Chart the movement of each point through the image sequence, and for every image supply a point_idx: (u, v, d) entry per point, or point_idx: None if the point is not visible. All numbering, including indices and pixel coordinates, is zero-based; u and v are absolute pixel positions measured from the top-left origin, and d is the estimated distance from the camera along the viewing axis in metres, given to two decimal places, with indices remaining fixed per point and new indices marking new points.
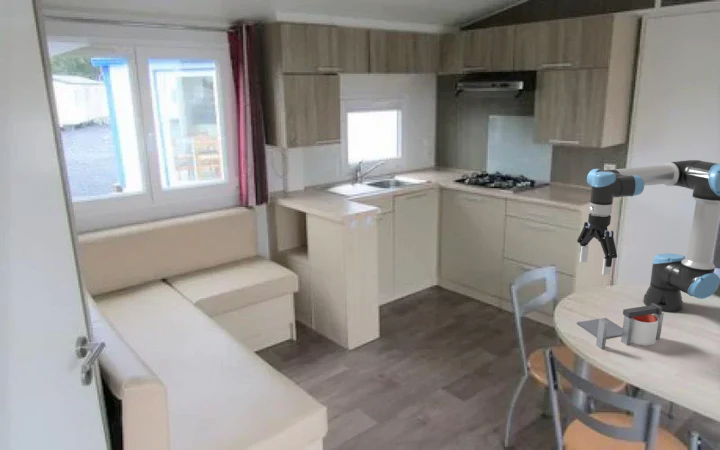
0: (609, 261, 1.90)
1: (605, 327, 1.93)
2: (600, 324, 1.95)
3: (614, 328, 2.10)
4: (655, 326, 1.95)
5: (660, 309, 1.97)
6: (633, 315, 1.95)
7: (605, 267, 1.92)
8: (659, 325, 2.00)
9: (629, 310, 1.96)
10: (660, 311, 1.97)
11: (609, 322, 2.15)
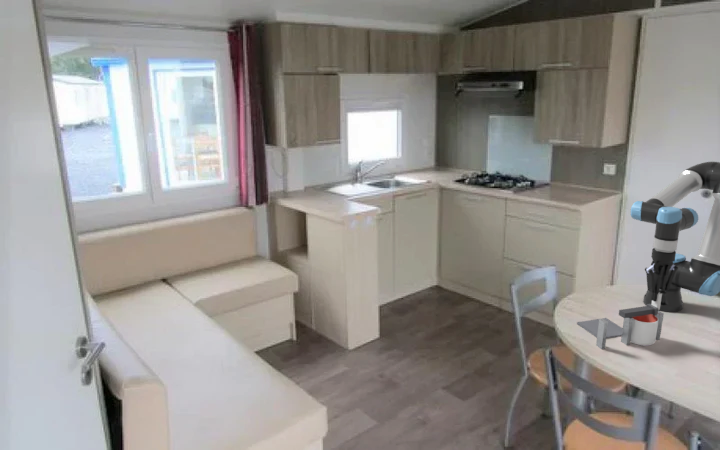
0: (652, 295, 1.97)
1: (605, 327, 1.93)
2: (600, 324, 1.95)
3: (614, 328, 2.10)
4: (655, 326, 1.95)
5: (656, 310, 1.96)
6: (629, 316, 1.94)
7: (653, 300, 1.98)
8: (659, 325, 2.00)
9: (625, 311, 1.95)
10: (656, 312, 1.96)
11: (609, 322, 2.15)
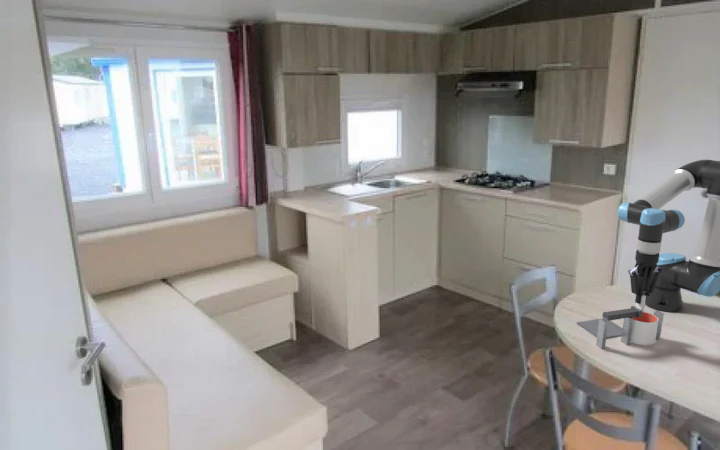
0: (636, 297, 1.95)
1: (605, 327, 1.93)
2: (600, 324, 1.95)
3: (614, 328, 2.10)
4: (655, 326, 1.95)
5: (640, 312, 1.94)
6: (612, 318, 1.93)
7: (637, 303, 1.97)
8: (659, 325, 2.00)
9: (609, 313, 1.94)
10: (640, 314, 1.95)
11: (609, 322, 2.15)
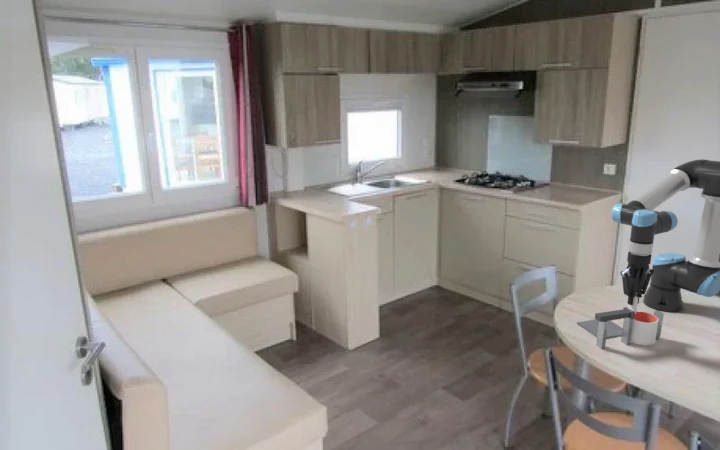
0: (628, 298, 1.94)
1: (605, 327, 1.93)
2: (600, 324, 1.95)
3: (614, 328, 2.10)
4: (655, 326, 1.95)
5: (632, 313, 1.94)
6: (605, 319, 1.92)
7: (629, 304, 1.96)
8: (659, 325, 2.00)
9: (601, 314, 1.93)
10: (632, 315, 1.94)
11: (609, 322, 2.15)
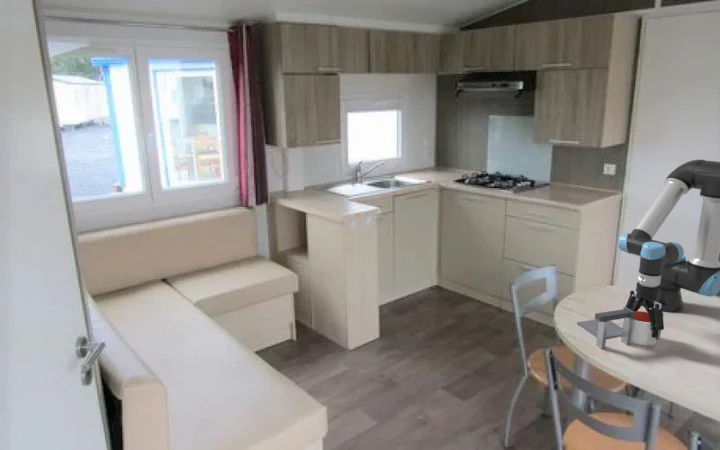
0: (655, 332, 1.93)
1: (605, 327, 1.93)
2: (600, 324, 1.95)
3: (614, 328, 2.10)
4: None
5: (632, 313, 1.94)
6: (605, 319, 1.92)
7: (651, 338, 1.94)
8: None
9: (601, 314, 1.93)
10: (632, 315, 1.94)
11: (609, 322, 2.15)
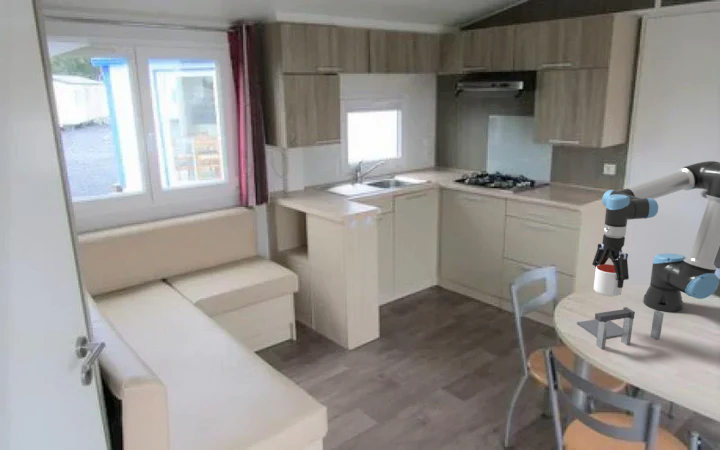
0: (621, 282, 1.98)
1: (605, 327, 1.93)
2: (600, 324, 1.95)
3: (614, 328, 2.10)
4: None
5: (632, 313, 1.94)
6: (605, 319, 1.92)
7: (617, 288, 2.00)
8: (659, 325, 2.00)
9: (601, 314, 1.93)
10: (632, 315, 1.94)
11: (609, 322, 2.15)
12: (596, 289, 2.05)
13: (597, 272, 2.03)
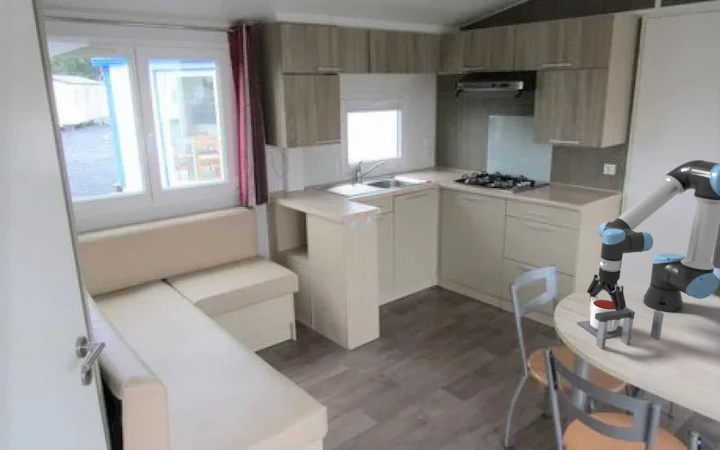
0: None
1: (605, 327, 1.93)
2: (600, 324, 1.95)
3: None
4: None
5: (632, 313, 1.94)
6: (605, 319, 1.92)
7: None
8: (659, 325, 2.00)
9: (601, 314, 1.93)
10: (632, 315, 1.94)
11: None
12: (592, 324, 2.09)
13: (593, 308, 2.08)
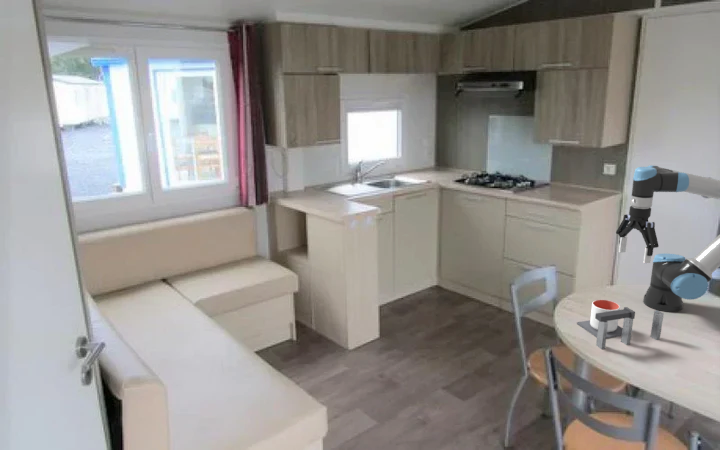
0: (650, 250, 2.03)
1: (605, 327, 1.93)
2: (600, 324, 1.95)
3: None
4: None
5: (633, 313, 1.94)
6: (605, 319, 1.92)
7: (646, 256, 2.05)
8: (659, 325, 2.00)
9: (601, 314, 1.93)
10: (633, 315, 1.94)
11: None
12: (592, 325, 2.09)
13: (593, 308, 2.07)
